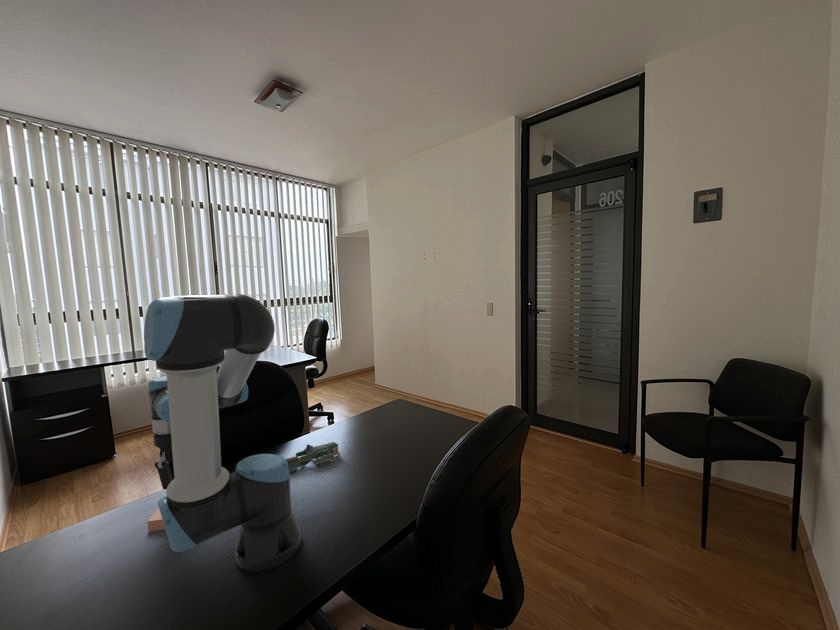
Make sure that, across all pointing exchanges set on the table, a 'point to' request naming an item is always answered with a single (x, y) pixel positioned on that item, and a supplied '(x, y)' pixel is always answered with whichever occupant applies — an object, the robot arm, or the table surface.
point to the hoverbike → (314, 456)
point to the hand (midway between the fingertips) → (176, 505)
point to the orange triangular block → (156, 522)
